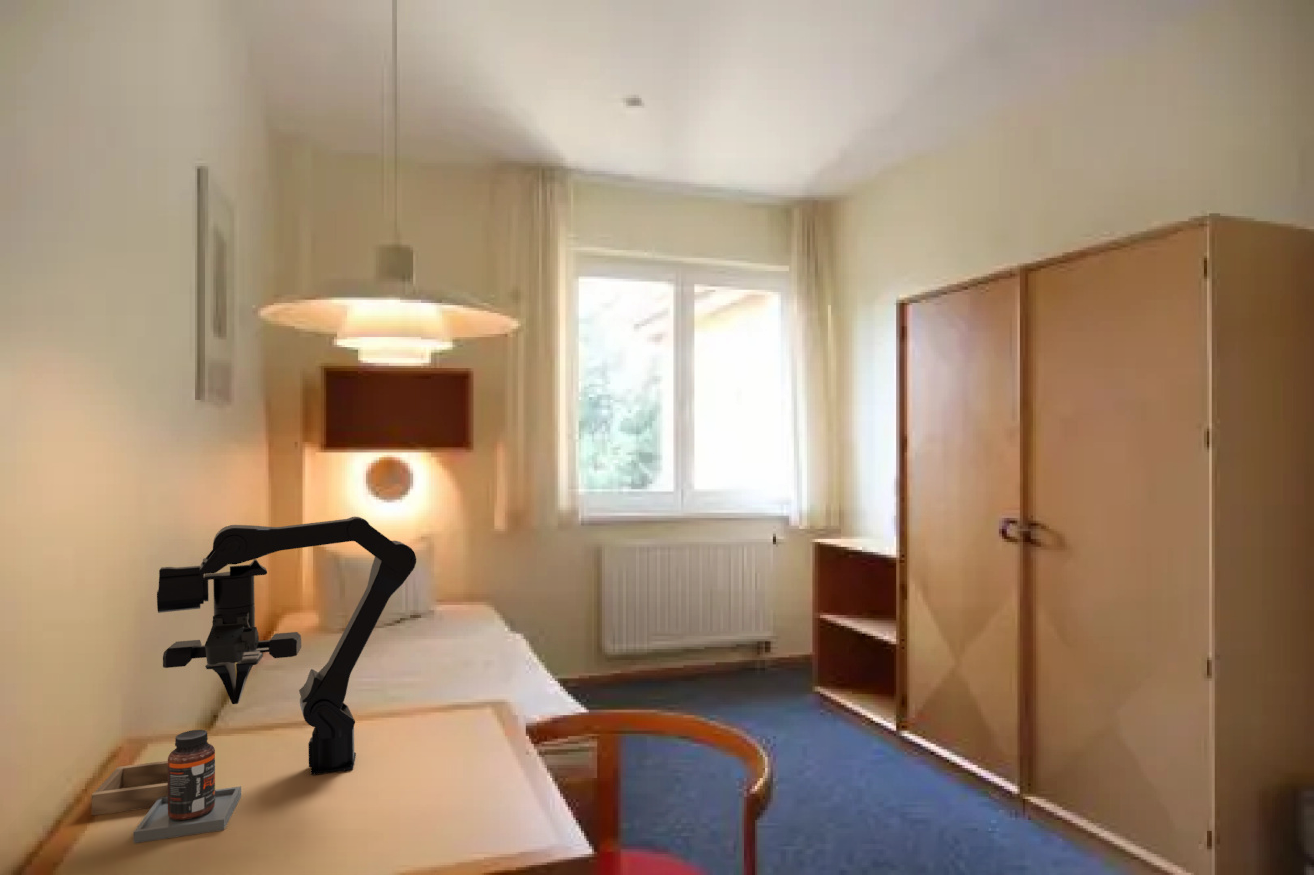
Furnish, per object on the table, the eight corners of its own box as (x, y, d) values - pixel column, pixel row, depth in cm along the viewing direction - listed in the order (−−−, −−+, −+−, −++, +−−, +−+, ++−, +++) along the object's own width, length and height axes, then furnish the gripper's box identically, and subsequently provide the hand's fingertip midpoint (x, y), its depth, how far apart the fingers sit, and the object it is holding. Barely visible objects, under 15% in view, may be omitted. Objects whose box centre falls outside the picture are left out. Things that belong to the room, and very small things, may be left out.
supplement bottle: (212, 817, 111) (211, 738, 111) (163, 825, 109) (162, 744, 109) (218, 799, 116) (217, 724, 116) (172, 807, 114) (171, 730, 114)
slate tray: (241, 796, 119) (241, 786, 119) (223, 830, 109) (223, 819, 109) (159, 807, 116) (159, 797, 116) (133, 843, 106) (133, 832, 106)
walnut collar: (192, 776, 127) (192, 757, 127) (173, 804, 117) (173, 784, 117) (118, 785, 124) (118, 766, 124) (91, 815, 114) (91, 795, 114)
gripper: (150, 620, 113) (151, 728, 113) (290, 610, 118) (291, 713, 118) (173, 605, 123) (174, 704, 123) (301, 597, 129) (302, 691, 129)
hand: (235, 703), depth 123 cm, fingers closed
